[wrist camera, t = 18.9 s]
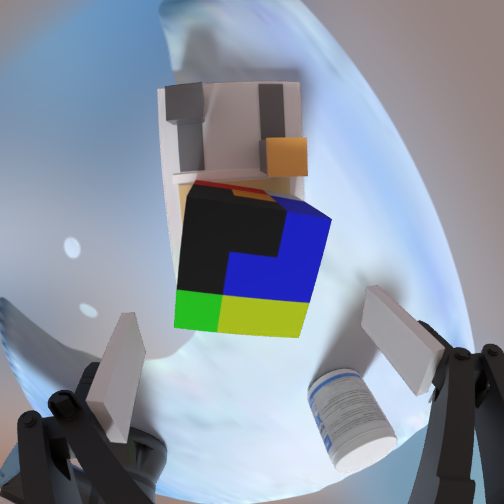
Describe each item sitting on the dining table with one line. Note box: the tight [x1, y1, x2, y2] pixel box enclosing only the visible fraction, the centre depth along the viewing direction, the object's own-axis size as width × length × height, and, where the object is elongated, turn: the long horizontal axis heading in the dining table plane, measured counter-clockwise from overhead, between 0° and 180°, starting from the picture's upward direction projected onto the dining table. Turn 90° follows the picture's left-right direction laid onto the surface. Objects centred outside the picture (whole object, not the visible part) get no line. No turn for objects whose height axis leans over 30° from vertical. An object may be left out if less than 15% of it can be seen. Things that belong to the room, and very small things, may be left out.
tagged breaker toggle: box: [259, 137, 308, 177], centre depth 25 cm, size 3×3×5 cm
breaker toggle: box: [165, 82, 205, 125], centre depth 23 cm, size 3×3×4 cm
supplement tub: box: [307, 369, 397, 473], centre depth 36 cm, size 10×10×15 cm
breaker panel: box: [157, 81, 304, 284], centre depth 29 cm, size 14×21×2 cm, turn 3°
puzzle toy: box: [174, 180, 332, 338], centre depth 26 cm, size 10×10×10 cm
